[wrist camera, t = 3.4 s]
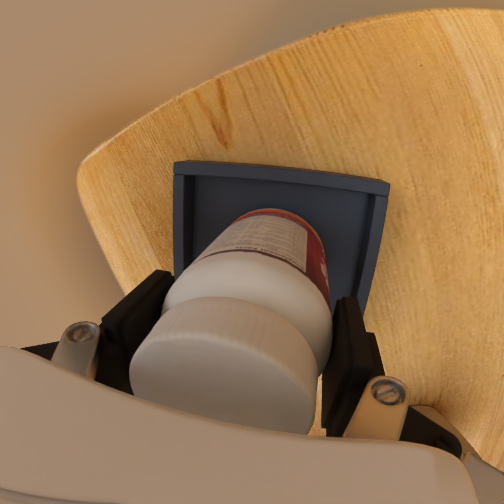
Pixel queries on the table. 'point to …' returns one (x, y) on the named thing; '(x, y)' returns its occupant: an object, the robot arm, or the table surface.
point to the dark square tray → (289, 199)
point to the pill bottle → (244, 328)
